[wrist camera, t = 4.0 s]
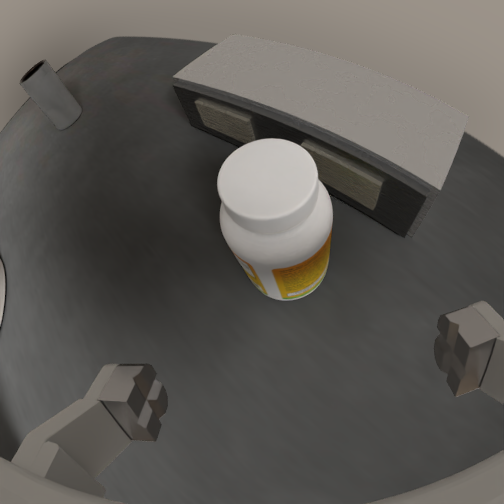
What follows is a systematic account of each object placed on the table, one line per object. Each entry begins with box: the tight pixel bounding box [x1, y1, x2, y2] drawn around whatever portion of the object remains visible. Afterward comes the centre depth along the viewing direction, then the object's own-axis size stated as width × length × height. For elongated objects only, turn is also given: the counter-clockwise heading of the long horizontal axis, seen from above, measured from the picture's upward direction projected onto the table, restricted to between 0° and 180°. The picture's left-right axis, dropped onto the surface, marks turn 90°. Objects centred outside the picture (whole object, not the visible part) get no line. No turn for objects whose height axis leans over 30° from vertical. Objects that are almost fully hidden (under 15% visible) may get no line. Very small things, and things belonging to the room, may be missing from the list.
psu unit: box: [173, 34, 469, 238], centre depth 21 cm, size 22×9×6 cm, turn 51°
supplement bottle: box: [217, 138, 333, 300], centre depth 16 cm, size 5×5×10 cm
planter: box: [20, 60, 82, 130], centre depth 30 cm, size 4×4×10 cm
